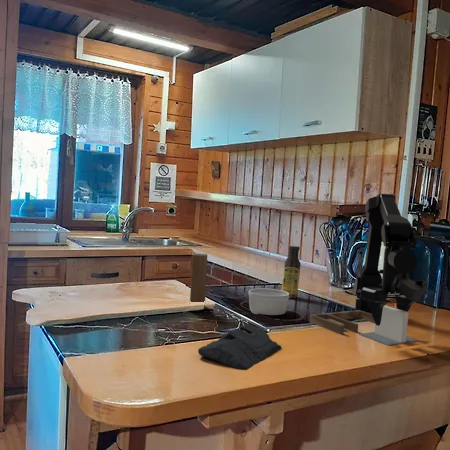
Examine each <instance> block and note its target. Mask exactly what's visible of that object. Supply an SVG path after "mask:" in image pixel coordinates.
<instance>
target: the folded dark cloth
mask: <svg viewBox="0 0 450 450" xmlns="http://www.w3.org/2000/svg"><path fill="white" fill-rule="evenodd" d="M281 349H282V346H281V344H278V343H277V341H273V340H272V339H271V338H270V335H269V334H268V333H267V332H266V331H264V330H262V329H261V328H258V327H255V326H254V325H253V324H251V323H245V324H244V325H242V326H239V329H238V328H234V329H233V330H230V331H228V332H227V333H226V334H224V335H223V336H221V337H220V338H219V339H218V340H213V341H211V342H210V343H208V344H206V345H204V346H202V347H200V348H199V347H198V349H197V352H198V354H199V356H201V357H203V358H208V359H210V360H213V361H217V362H219V363H221V364H223V365H225V366H229V367H231V368H233V369H239V370H246V371H247V370H249V369H251V368H253V367H254V366H256V365H257V364H259V363H261V362H263V361H265V360H267V359H268V358H269V357H272V355H274V354H275V353H277V352H278V351H280V350H281Z"/></svg>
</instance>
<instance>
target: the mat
mask: <svg viewBox="0 0 450 450" xmlns="http://www.w3.org/2000/svg"><path fill="white" fill-rule="evenodd" d="M358 335H359V336H361V337H364V338H367V339H369V340H371V341H374V342H377V343H379V344H382V345H386V346H388V347H389V346H396V345H402V344H409V343H415V342H419V341H420V340H419V339H417V338H413V337H410V336H406V342H398V341H395V340H392V339H390V338H387V337H384V336H381V335H379V334H376V333H375V331H372V332H370V331H369V332H362V333H359V334H358Z"/></svg>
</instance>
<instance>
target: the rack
mask: <svg viewBox="0 0 450 450" xmlns="http://www.w3.org/2000/svg"><path fill="white" fill-rule="evenodd" d="M326 319H332V320H335V321H337V322H340V323H342V324H345V325H344V326H342V325H340V324H337V323H334V322H332V321H329V320H326ZM354 319H360V320H363V321H366V322H370V323H371V324H372V323H373V324H375V321H374V318H373V316H372V314H370V313H367V312H364V311H361V310H356V311H354V310H347V311H337V312H336V311H335V312H326V313H316V314H315V313H314V314H310V315H309V323H311V324H314V325H315V326H317V327H321V328H322V329H326V330H328V331H330V332H334V333H336V334H339V335H344V332H345V331H344V329H346V331H349V332H353V333H356V334H357V333H358V331H359V324H358V323H355V322H353V321H350V320H354Z"/></svg>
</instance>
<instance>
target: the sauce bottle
mask: <svg viewBox="0 0 450 450" xmlns="http://www.w3.org/2000/svg"><path fill="white" fill-rule="evenodd" d="M288 245H289V246H288V256H287V258H286V260H285V261H284V266H283V267H284V268H283V273H282V280H281V281H282V282H281V289H280V290H282V291H285V292H288V293H289V299H296V298H297V297H298V293H299V283H300V272H301V261H300V260H299V253H300V247H301V246H300V245H295V244H294V245H293V244H291V245H290V244H288Z"/></svg>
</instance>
